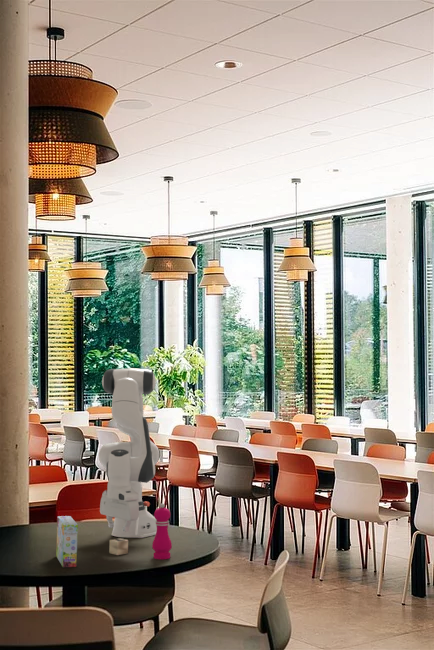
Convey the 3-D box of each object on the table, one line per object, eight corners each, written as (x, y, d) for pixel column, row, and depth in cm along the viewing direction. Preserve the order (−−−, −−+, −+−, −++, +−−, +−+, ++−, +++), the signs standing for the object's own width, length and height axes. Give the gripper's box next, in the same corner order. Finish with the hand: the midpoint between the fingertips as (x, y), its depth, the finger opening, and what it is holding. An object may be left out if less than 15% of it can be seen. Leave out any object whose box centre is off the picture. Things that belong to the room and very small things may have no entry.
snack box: (78, 567, 321) (78, 524, 322) (62, 568, 319) (62, 524, 320) (70, 555, 341) (70, 515, 342) (55, 556, 340) (55, 515, 341)
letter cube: (119, 551, 350) (120, 537, 350) (127, 553, 346) (128, 539, 347) (109, 553, 347) (109, 539, 347) (117, 555, 343) (117, 541, 343)
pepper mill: (156, 560, 333) (157, 505, 334) (149, 556, 339) (149, 502, 340) (174, 558, 336) (175, 504, 337) (166, 555, 343) (167, 501, 344)
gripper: (96, 490, 353) (95, 526, 353) (128, 497, 338) (127, 534, 338) (109, 488, 358) (109, 524, 357) (141, 495, 343) (141, 532, 342)
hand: (118, 529), depth 348 cm, fingers open, 8 cm apart
